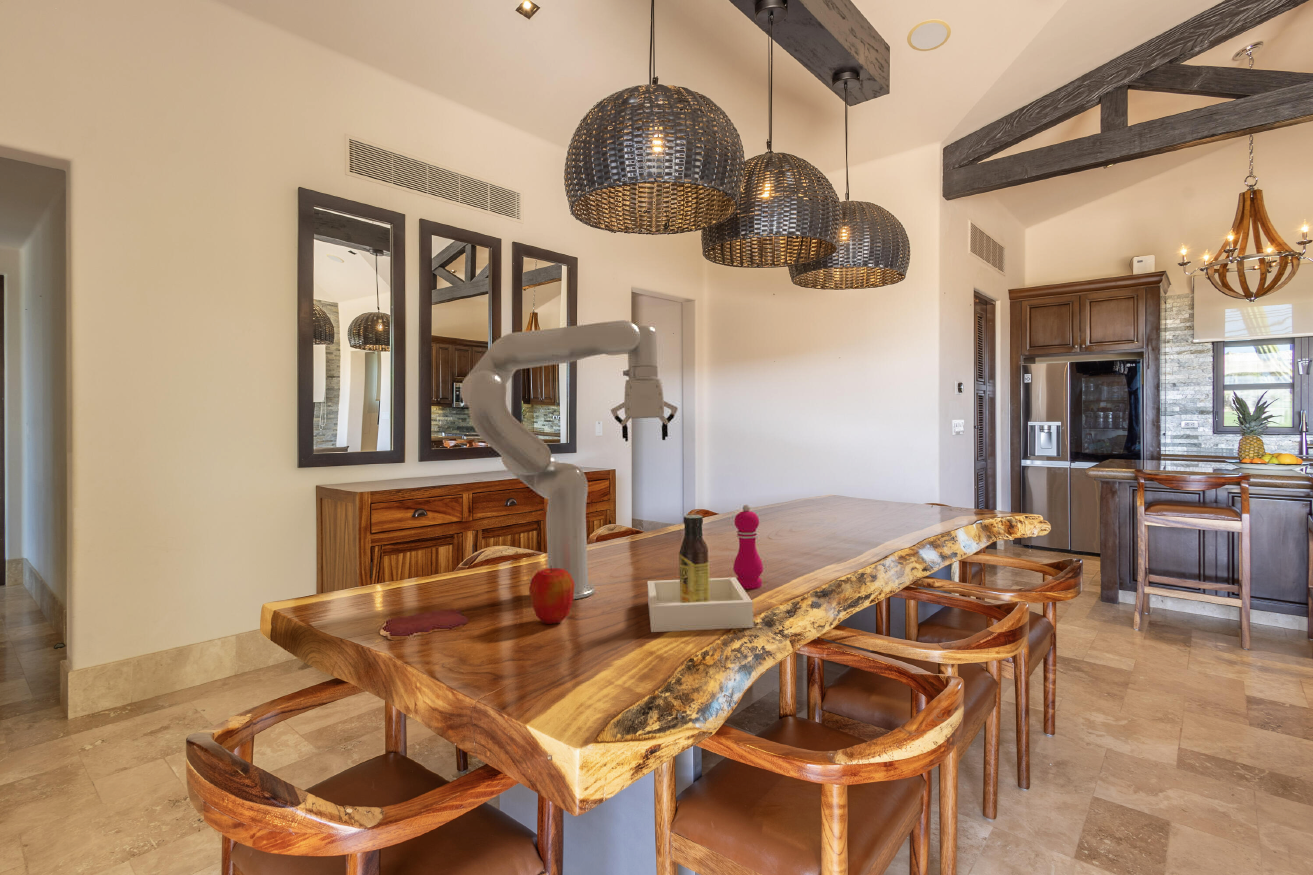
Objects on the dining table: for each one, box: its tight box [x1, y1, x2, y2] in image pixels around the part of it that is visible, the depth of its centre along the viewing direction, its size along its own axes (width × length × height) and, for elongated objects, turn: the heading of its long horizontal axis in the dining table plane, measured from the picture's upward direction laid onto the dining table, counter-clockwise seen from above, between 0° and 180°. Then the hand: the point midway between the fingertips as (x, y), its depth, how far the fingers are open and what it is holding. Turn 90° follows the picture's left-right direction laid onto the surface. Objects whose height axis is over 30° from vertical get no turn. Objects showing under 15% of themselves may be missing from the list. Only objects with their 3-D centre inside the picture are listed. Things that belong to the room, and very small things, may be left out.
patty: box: [381, 608, 469, 636], centre depth 129 cm, size 18×14×2 cm
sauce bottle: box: [678, 514, 710, 603], centre depth 131 cm, size 6×6×20 cm
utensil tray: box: [647, 576, 754, 633], centre depth 131 cm, size 20×20×5 cm
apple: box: [528, 565, 575, 625], centre depth 128 cm, size 9×9×12 cm
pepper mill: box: [733, 504, 764, 590], centre depth 152 cm, size 7×7×20 cm
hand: (645, 440), depth 161 cm, fingers open, 9 cm apart
